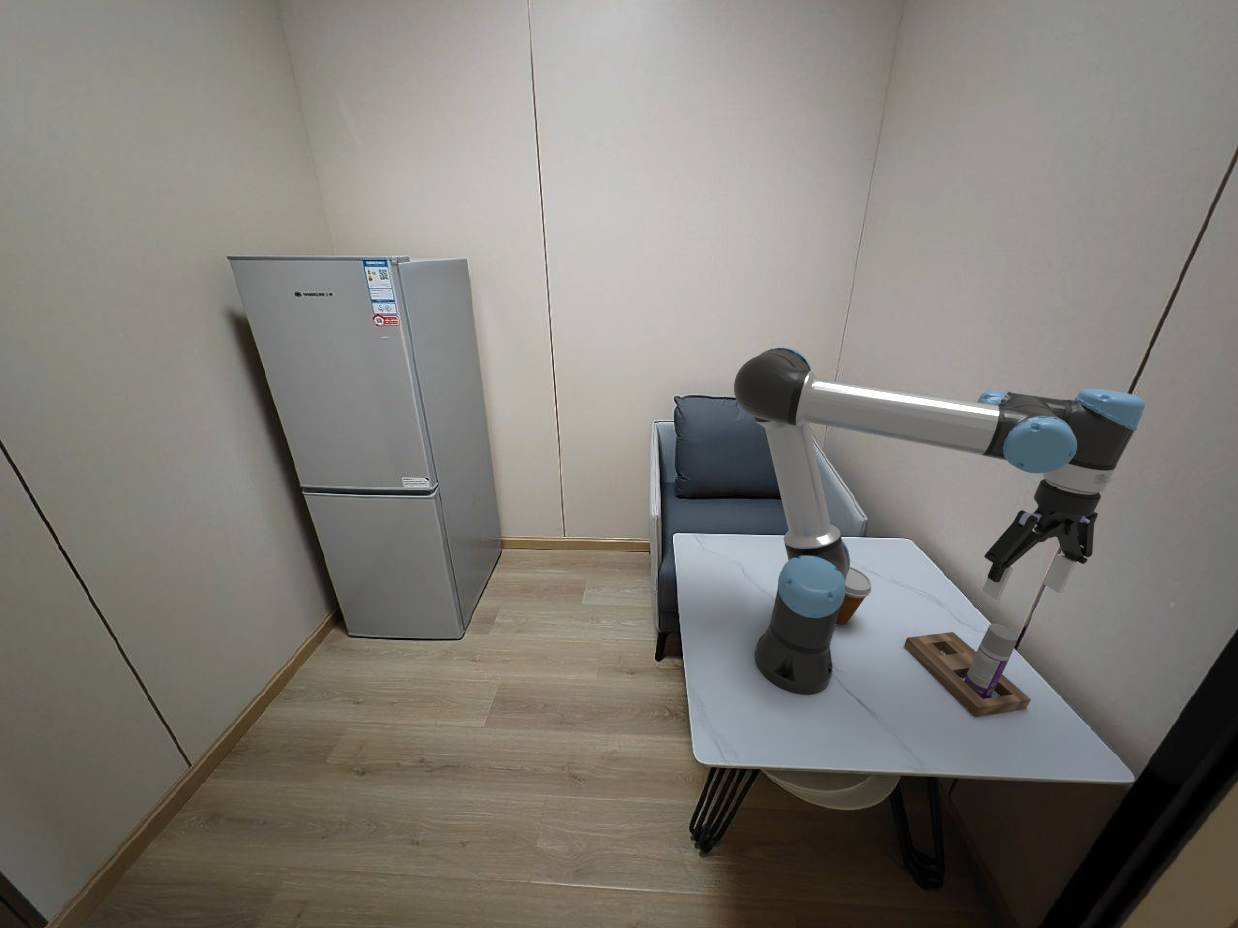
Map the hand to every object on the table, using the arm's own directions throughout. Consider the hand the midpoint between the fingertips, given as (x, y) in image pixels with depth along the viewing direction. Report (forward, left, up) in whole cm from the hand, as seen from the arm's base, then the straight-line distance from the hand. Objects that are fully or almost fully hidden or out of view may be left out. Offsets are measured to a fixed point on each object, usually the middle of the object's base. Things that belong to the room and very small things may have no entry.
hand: (1021, 591), depth 84 cm
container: (0, 0, -25) cm, 25 cm away
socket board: (0, +4, -24) cm, 25 cm away
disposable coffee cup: (-16, +24, -24) cm, 38 cm away
